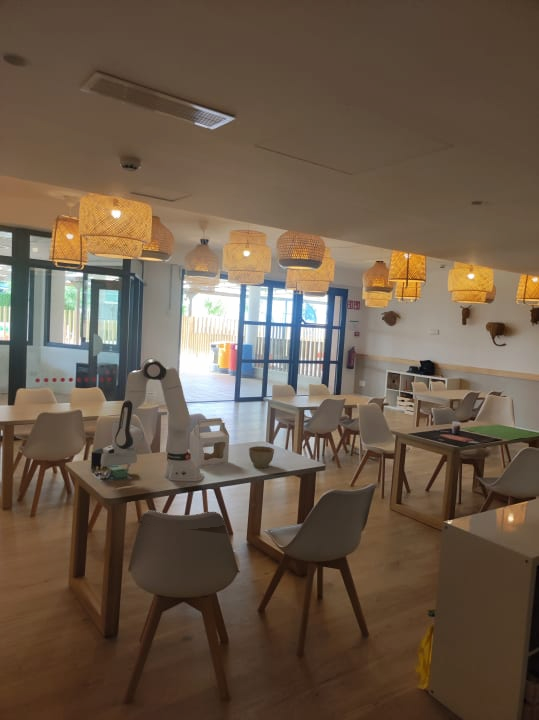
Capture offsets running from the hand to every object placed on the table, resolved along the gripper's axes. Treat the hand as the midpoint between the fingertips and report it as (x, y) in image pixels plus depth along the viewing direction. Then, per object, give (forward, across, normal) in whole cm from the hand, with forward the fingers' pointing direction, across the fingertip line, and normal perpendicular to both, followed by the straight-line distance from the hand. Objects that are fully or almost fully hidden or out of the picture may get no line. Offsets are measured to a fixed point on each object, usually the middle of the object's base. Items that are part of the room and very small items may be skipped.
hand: (118, 472), depth 294 cm
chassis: (+2, +5, +2) cm, 5 cm away
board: (+1, +1, 0) cm, 1 cm away
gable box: (+2, -61, -2) cm, 61 cm away
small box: (+2, +4, -19) cm, 20 cm away
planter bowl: (+2, -85, +21) cm, 88 cm away
